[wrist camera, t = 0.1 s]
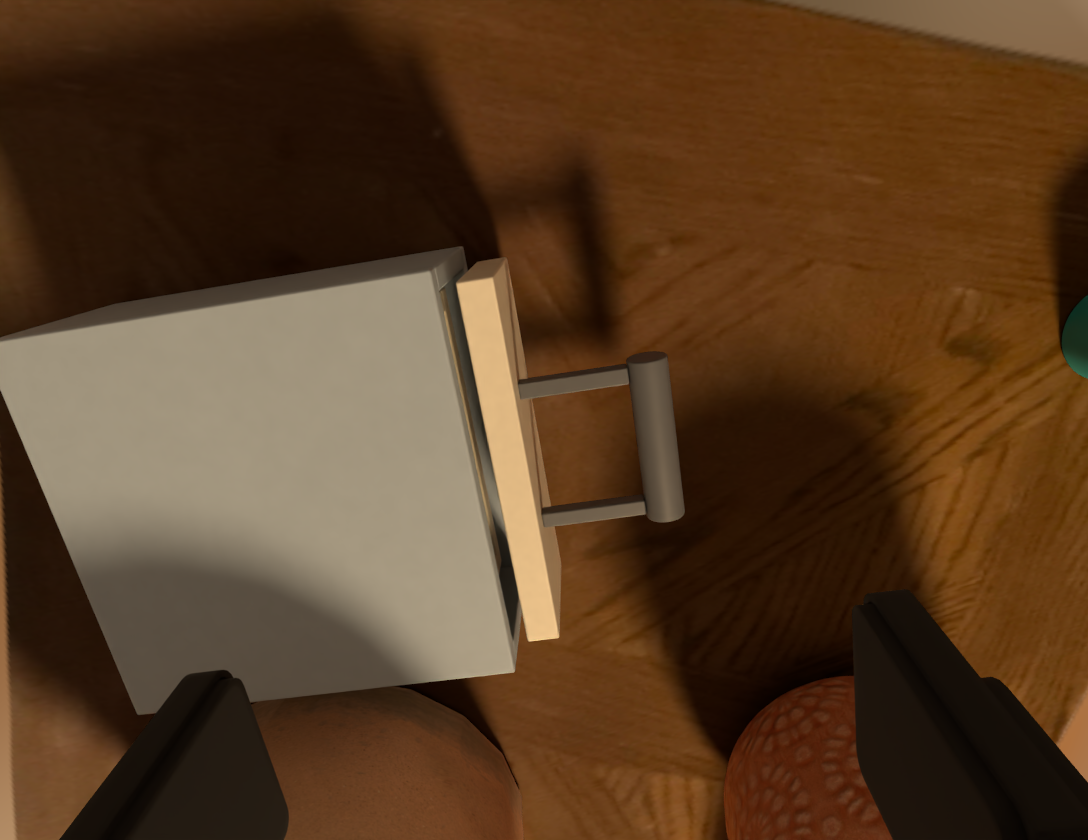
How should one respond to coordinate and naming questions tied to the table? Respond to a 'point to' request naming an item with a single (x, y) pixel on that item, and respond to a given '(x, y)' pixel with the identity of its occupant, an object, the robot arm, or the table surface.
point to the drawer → (519, 445)
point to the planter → (801, 771)
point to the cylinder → (1077, 338)
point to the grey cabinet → (274, 481)
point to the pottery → (387, 769)
